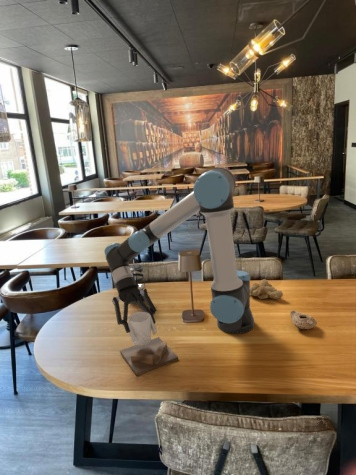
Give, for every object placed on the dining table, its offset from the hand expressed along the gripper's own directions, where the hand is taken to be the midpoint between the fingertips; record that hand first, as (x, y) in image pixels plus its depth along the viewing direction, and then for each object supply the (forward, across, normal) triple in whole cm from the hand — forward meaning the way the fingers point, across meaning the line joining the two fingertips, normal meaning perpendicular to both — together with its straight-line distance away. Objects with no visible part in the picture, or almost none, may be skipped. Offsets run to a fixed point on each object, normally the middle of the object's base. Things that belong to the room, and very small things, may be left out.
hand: (144, 336), depth 122 cm
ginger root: (-3, -68, -15) cm, 69 cm away
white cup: (0, 0, -5) cm, 5 cm away
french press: (-27, -16, -38) cm, 50 cm away
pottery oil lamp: (+17, -61, +6) cm, 64 cm away
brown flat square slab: (+6, -1, -5) cm, 8 cm away
